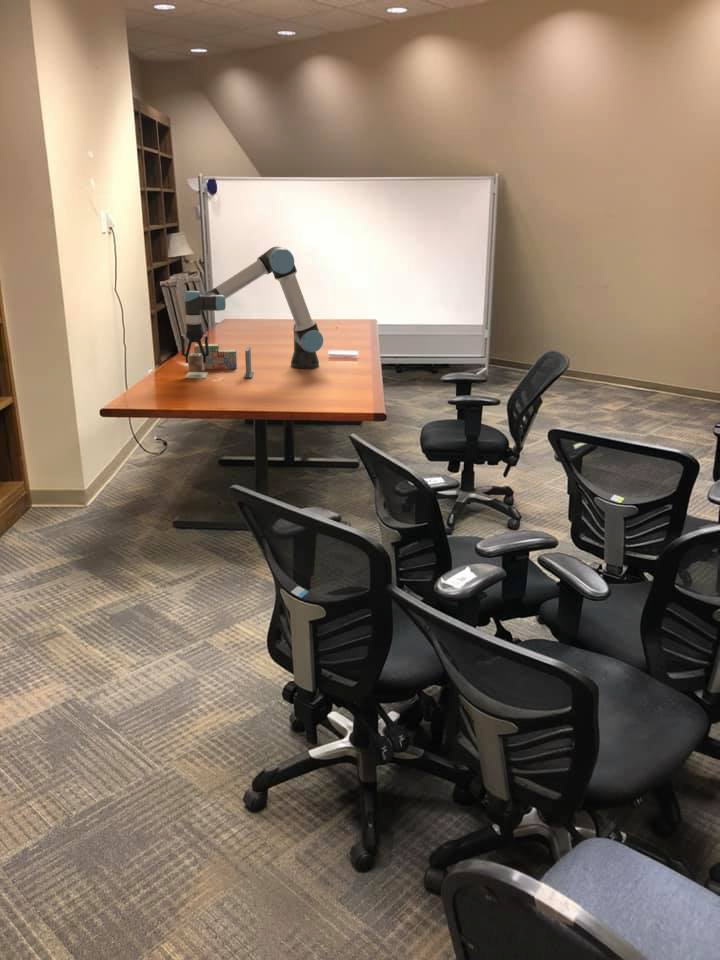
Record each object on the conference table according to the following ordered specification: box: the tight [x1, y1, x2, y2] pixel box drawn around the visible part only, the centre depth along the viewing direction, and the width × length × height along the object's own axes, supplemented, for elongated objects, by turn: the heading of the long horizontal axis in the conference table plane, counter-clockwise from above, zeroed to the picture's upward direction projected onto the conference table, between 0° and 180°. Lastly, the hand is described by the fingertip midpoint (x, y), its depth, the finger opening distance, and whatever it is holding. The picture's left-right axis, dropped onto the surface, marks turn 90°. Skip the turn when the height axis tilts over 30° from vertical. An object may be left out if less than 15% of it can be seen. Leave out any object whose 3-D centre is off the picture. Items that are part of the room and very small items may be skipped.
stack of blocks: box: [193, 343, 238, 370], centre depth 401 cm, size 21×6×12 cm, turn 94°
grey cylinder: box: [188, 353, 203, 372], centre depth 382 cm, size 6×6×8 cm
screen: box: [243, 345, 255, 380], centre depth 383 cm, size 4×12×14 cm, turn 3°
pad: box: [184, 371, 209, 380], centre depth 384 cm, size 10×12×1 cm
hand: (196, 369), depth 383 cm, fingers closed on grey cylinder, 6 cm apart
